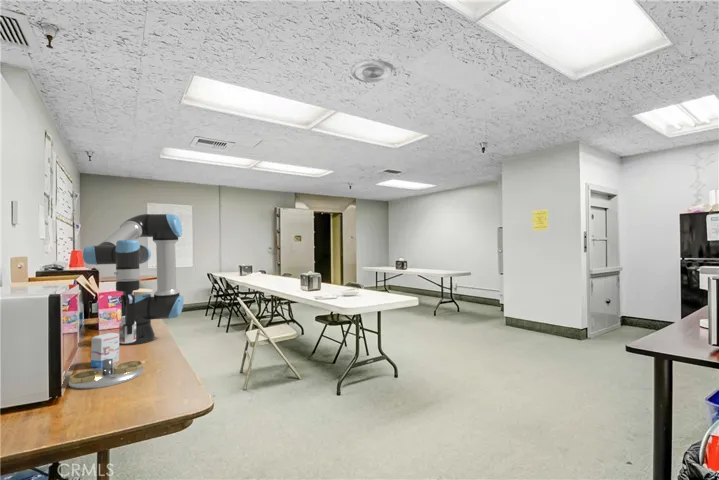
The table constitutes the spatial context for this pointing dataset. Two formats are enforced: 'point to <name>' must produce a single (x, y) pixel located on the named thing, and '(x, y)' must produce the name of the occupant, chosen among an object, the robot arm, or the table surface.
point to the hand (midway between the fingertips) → (127, 341)
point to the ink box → (104, 349)
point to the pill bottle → (122, 331)
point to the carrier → (106, 375)
